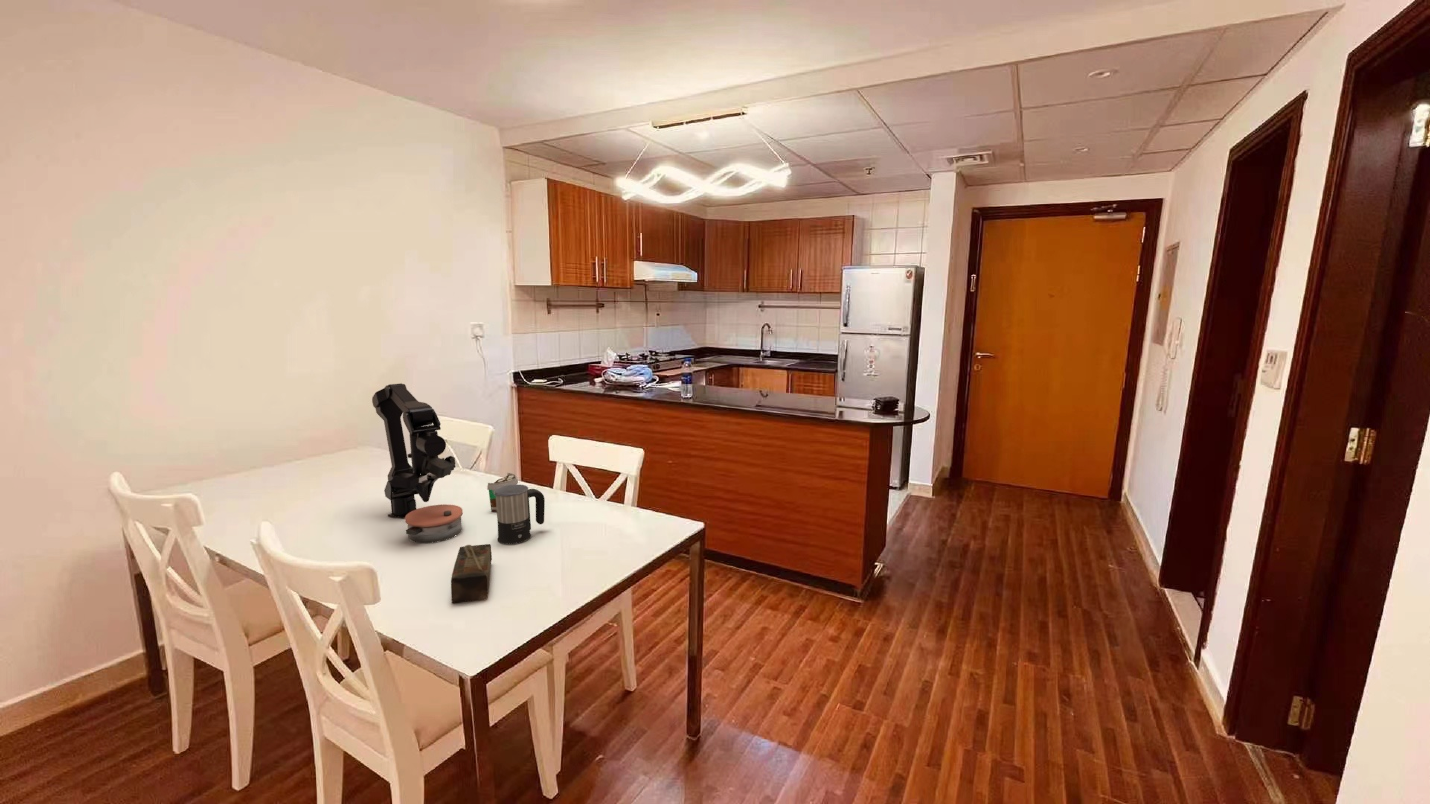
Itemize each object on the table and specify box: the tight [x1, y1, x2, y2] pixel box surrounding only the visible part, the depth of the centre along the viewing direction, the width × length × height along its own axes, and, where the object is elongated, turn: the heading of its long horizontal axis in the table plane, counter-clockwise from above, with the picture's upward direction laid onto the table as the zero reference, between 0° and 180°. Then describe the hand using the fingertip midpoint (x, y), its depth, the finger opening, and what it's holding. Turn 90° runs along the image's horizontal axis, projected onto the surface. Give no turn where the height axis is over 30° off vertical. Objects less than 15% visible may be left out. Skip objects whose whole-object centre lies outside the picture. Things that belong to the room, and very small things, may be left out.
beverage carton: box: [450, 543, 493, 604], centre depth 137 cm, size 8×19×7 cm, turn 18°
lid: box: [404, 503, 464, 527], centre depth 165 cm, size 15×15×2 cm
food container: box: [486, 472, 519, 513], centre depth 186 cm, size 12×6×10 cm, turn 168°
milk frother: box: [494, 483, 546, 545], centre depth 165 cm, size 14×16×15 cm
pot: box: [405, 516, 463, 544], centre depth 165 cm, size 14×19×5 cm
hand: (426, 501), depth 164 cm, fingers closed
